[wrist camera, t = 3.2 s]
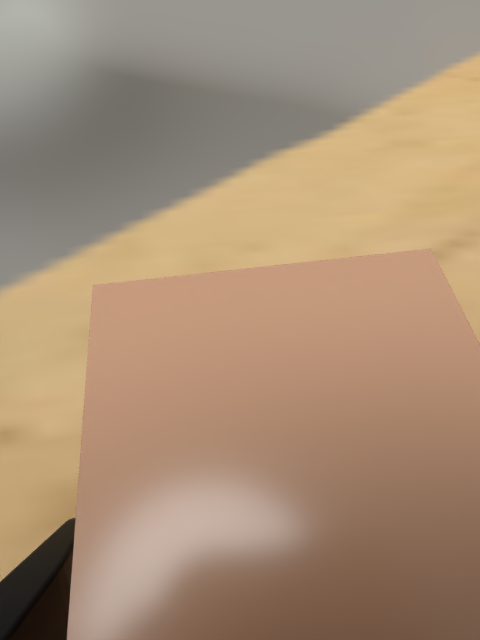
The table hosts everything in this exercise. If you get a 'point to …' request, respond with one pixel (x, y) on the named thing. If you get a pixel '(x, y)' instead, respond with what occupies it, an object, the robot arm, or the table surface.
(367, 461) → the clay block
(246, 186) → the table surface
